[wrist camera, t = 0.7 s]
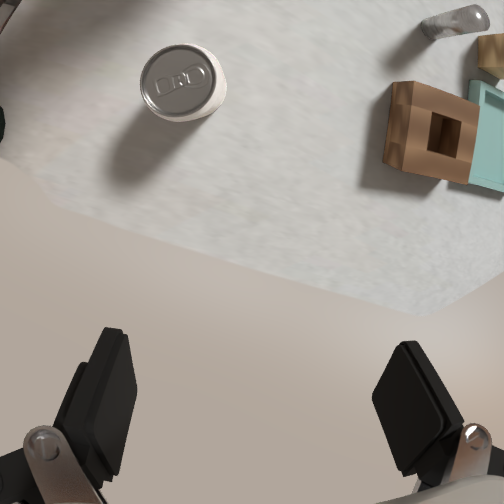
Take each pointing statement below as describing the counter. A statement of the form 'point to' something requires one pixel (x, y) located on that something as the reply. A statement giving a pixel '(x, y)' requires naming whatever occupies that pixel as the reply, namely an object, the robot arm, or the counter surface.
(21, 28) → the counter surface
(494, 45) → the oak block
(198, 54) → the can
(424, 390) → the robot arm
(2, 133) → the wine bottle
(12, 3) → the book
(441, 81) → the counter surface
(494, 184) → the tray
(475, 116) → the bore block
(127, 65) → the counter surface
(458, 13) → the cylinder
